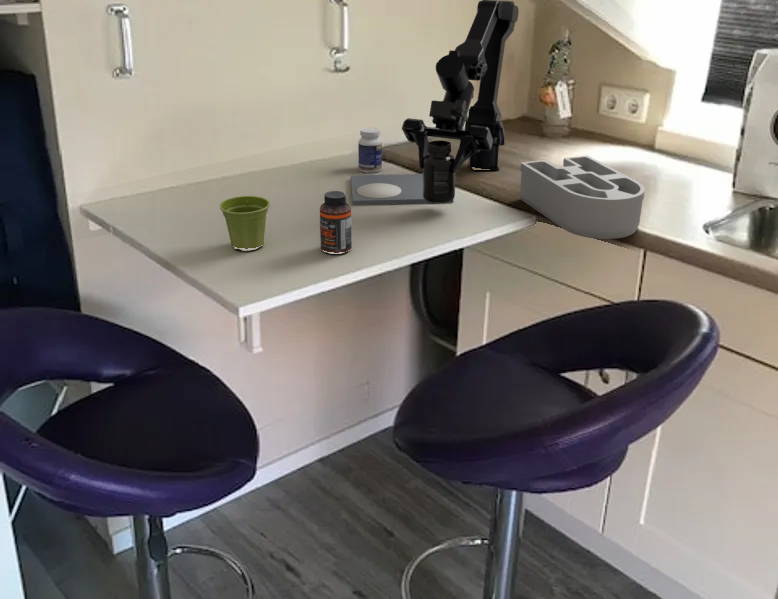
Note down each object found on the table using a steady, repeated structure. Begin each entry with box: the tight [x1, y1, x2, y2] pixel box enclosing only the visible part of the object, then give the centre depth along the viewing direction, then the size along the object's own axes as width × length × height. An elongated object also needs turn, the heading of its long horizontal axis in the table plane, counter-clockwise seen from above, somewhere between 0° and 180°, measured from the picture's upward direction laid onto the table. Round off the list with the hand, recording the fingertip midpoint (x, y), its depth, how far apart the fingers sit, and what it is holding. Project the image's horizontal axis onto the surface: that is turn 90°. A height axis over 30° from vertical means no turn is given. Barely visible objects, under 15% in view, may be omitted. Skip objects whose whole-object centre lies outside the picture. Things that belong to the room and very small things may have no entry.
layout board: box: [350, 173, 455, 206], centre depth 196 cm, size 22×18×1 cm
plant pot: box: [219, 195, 271, 249], centre depth 164 cm, size 9×9×9 cm
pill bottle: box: [357, 127, 383, 174], centre depth 208 cm, size 6×6×10 cm
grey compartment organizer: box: [519, 155, 646, 240], centre depth 180 cm, size 17×28×9 cm, turn 19°
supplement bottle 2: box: [422, 139, 456, 204], centre depth 180 cm, size 7×7×12 cm
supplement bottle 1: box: [319, 190, 353, 253], centre depth 162 cm, size 6×6×11 cm
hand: (436, 170), depth 179 cm, fingers closed on supplement bottle 2, 7 cm apart
